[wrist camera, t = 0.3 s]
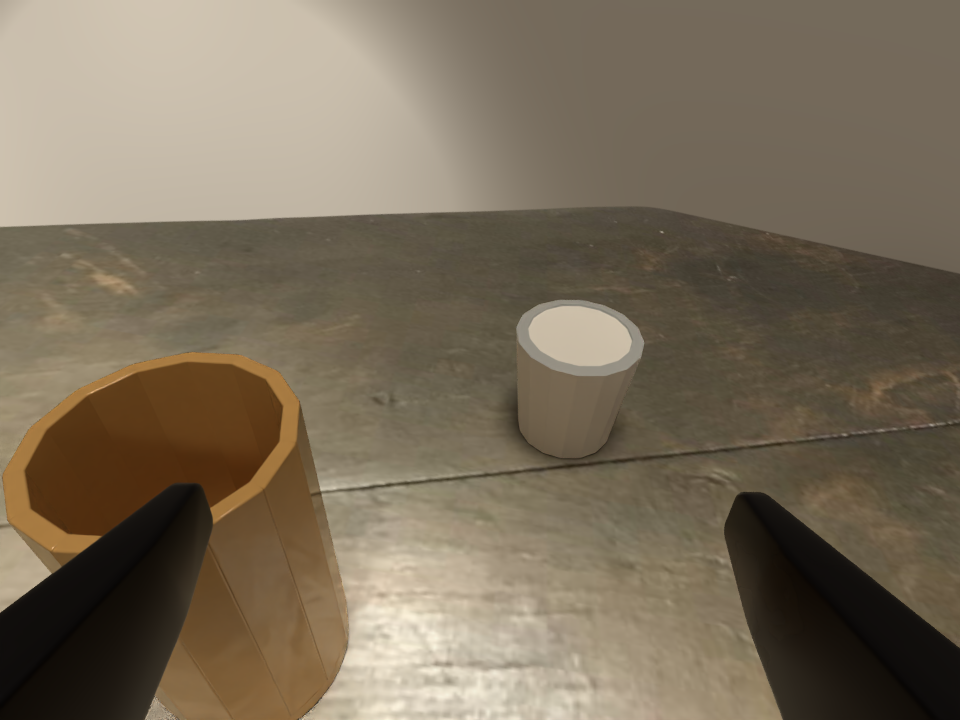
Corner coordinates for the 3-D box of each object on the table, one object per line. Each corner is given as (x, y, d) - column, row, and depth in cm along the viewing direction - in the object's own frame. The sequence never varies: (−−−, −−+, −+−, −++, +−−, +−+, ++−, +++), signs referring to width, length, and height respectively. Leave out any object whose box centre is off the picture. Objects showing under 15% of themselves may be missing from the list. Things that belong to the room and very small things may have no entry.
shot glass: (485, 413, 35) (490, 322, 31) (566, 373, 39) (581, 285, 34) (559, 486, 31) (577, 393, 27) (643, 434, 34) (672, 343, 30)
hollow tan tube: (327, 749, 21) (249, 562, 13) (127, 737, 21) (-77, 544, 13) (365, 568, 27) (328, 358, 19) (208, 559, 27) (101, 346, 19)
